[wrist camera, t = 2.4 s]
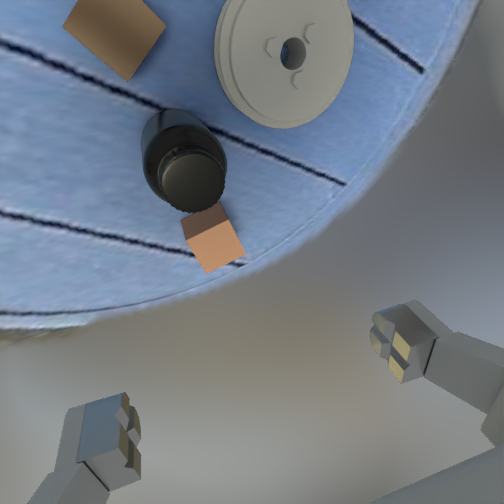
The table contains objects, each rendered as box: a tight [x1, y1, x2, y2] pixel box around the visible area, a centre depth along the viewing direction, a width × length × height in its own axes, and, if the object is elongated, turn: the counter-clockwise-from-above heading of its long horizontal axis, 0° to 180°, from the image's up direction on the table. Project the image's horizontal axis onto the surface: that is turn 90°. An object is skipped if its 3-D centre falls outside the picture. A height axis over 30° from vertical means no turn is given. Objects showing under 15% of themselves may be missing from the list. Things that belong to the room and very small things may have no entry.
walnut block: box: [62, 0, 167, 82], centre depth 25 cm, size 5×5×5 cm
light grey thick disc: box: [214, 0, 354, 129], centre depth 29 cm, size 13×13×5 cm
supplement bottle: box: [141, 109, 227, 213], centre depth 28 cm, size 7×7×12 cm
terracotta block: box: [181, 201, 246, 274], centre depth 37 cm, size 5×5×5 cm
